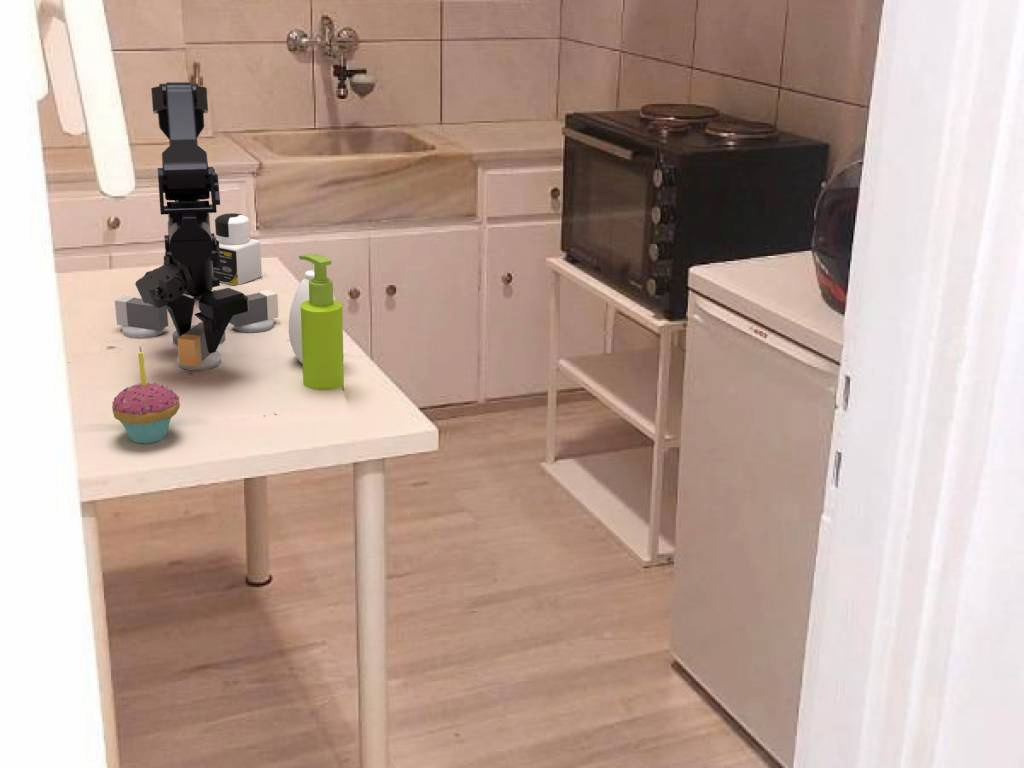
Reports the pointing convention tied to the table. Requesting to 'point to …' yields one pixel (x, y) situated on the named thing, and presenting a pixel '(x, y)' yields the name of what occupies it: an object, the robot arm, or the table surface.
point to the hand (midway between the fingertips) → (198, 346)
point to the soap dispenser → (321, 331)
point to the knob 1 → (196, 351)
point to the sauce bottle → (299, 313)
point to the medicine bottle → (236, 251)
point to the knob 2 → (258, 313)
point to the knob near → (140, 317)
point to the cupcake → (145, 408)
